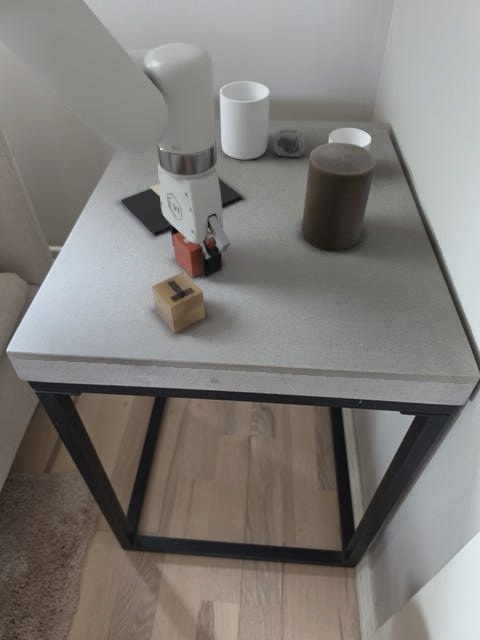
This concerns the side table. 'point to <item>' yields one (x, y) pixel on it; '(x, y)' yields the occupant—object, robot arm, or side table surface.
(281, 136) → the fossil
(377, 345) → the side table surface
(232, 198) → the word mat
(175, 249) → the terracotta block
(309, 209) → the pillar candle
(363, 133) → the cup
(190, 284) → the maple block
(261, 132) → the mug
